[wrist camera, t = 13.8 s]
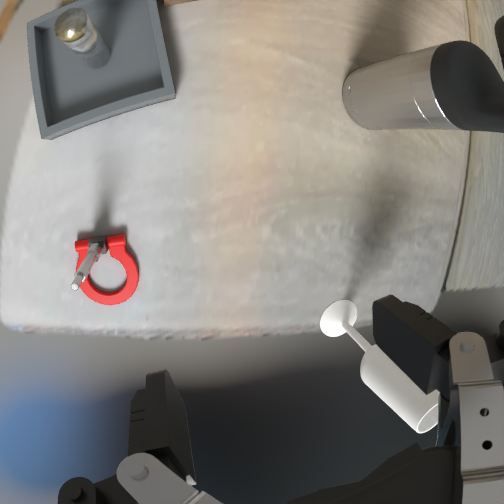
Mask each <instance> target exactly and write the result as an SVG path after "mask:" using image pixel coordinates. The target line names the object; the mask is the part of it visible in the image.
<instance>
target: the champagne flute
mask: <svg viewBox="0 0 504 504" xmlns="http://www.w3.org/2000/svg"><path fill="white" fill-rule="evenodd" d="M356 318H357V308H356V306H355V304H354V303H353V302H351V301H349V300H339V301H336V302H334V303H332V304H331V305H330V306H329V307H328V308H327V309H326V310H325V311H324V313H323V315H322V317H321V321H320V327H321V330H322V331H323V333H324V334H326V335H327V336H331V337H335V336H340V335H342V334H344V333H346V332H347V333H348V334H349V335H350V336H351V337H352V338H353V339H354V340H355V341H356V342H357V343H358V345H359V346H360V347H361V348H362V349H363V350H364V351H365V352H366V353H365V355H364V357H363V359H362V362H361V368H360V372H361V378H362V380H363V382H364V383H365V384H366V385H367V386H368V387H370V388H371V389H372V390H373V391H374V392H375V393H376V394H377V395H378V396H379V397H380V398H381V399H382V400H383V401H384V402H385V403H387V405H388V406H390V407H391V408H392V409H393V410H394V411H395V412H396V413H397V414H398V415H399V416H400V417H401V418H402V419H403V420H404V421H405V422H407V423H408V424H409V425H410V426H411V427H412V428H413V429H414V430H415V431H416V432H417V433H424V432H426V431H428V430H430V429H431V428H432V427H434V426H435V425H436V424H437V423H438V396H439V391H438V390H437V389H436V390H434V391H433V392H431V393H429V394H428V395H426V394H425V393H424V392H423V391H422V390H421V389H420V388H419V387H418V386H417V385H416V384H415V383H414V382H413V381H412V380H411V379H410V378H409V377H408V376H407V375H406V374H405V373H404V372H403V371H402V370H401V369H400V368H399V367H398V366H397V365H396V364H395V363H394V362H393V361H392V360H391V359H390V358H389V357H388V356H387V355H386V354H385V353H384V352H383V351H382V350H381V349H380V348H379V347H378V346H377V344H376V345H373V346H371V345H370V344H369V343H368V342H367V341H366V340H365V339H364V338H363V337H362V336H361V335H360V334H359V333H358V332H357V331H356V330H355V329H354V328H353V327H352V326H353V324H354V323H355V321H356Z"/></svg>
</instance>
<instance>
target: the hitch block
mask: <svg viewBox="0 0 504 504" xmlns="http://www.w3.org/2000/svg"><path fill="white" fill-rule="evenodd" d="M190 1H196V0H163V3H164V7H165V6H170V5H174V4H180V3H185V2H190Z"/></svg>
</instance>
